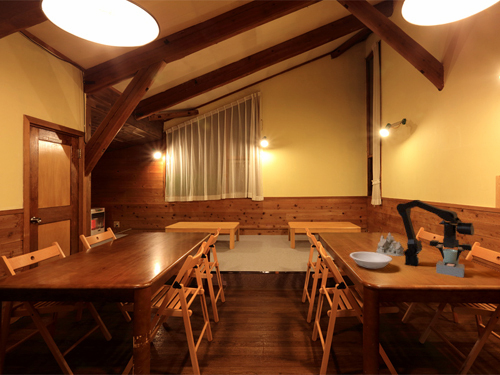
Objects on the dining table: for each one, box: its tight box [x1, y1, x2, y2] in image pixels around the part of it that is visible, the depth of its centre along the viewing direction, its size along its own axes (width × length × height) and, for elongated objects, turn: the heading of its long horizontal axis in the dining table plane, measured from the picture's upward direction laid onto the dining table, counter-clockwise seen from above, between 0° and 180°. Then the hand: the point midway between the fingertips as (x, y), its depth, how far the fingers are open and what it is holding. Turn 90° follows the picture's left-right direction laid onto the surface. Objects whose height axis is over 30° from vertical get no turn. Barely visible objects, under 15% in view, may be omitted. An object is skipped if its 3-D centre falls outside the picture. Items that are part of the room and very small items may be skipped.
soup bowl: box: [349, 251, 393, 270], centre depth 159 cm, size 24×24×7 cm
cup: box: [442, 248, 460, 264], centre depth 158 cm, size 8×8×10 cm
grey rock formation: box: [375, 232, 405, 257], centre depth 190 cm, size 16×16×15 cm
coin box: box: [435, 260, 465, 278], centre depth 146 cm, size 12×9×5 cm
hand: (450, 260), depth 146 cm, fingers open, 6 cm apart
